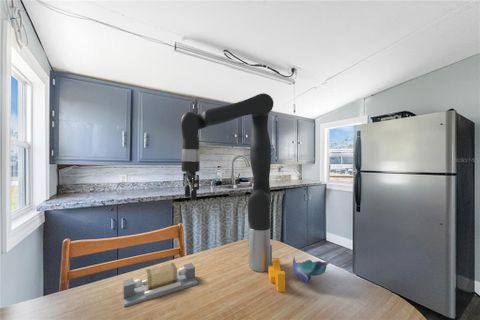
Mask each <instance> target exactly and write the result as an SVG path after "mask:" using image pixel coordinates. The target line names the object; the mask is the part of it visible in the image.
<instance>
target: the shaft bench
mask: <svg viewBox="0 0 480 320" xmlns="http://www.w3.org/2000/svg"><path fill="white" fill-rule="evenodd" d="M122 282H123V287H122V294H123V307H124V308H126V307H129V306H132V305H135V304H138V303H141V302H142V303H143V302H144V301H149V300H151V299H154V298H158V297H161V296H164V295H167V294H171V293H173V292H177V291H181V290H184V289H186V288H190V287H193V286H196V285H198V283H199V281H198V280H197V278H196V267H195V265H194V264H193V263H192V262H190V263H186V264H184V266H182V267H179V268H177V282H176V283H173V284H169V285H166V286H163V287H159V288H156V289H153V290H149V291H147V288H146V279H144V280H143V278H137V279H134V277H132V278H128V279H123V281H122Z"/></svg>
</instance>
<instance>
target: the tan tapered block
mask: <svg viewBox="0 0 480 320" xmlns="http://www.w3.org/2000/svg"><path fill="white" fill-rule="evenodd" d="M177 273H178V268H177V266H176V264H175V263H174V262H173V263H170V264H165V265H161V266H157V267H153V268H147V269H145V280H146V288H147V291H149V290H153V289H156V288H159V287H163V286H166V285H169V284H173V283H176V282H177Z"/></svg>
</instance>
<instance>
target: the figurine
mask: <svg viewBox="0 0 480 320" xmlns="http://www.w3.org/2000/svg"><path fill="white" fill-rule="evenodd" d="M295 256H296V255H294V256H293V259H292V268H293V272H294V275H295V276H296V277H297V278H299V279H301V280H304V282H305V283H306V284H308V283H309V282H310V281H311V277H317V276H320V275H321V276H322V275H323V274H325V273H326V269H327V267H328V265H329V264H330V263H331V262H332V260H330V261H320V260H317V261H312V260H311V259H307V260H305V261H302V262H301V261H298V262H296V257H295Z"/></svg>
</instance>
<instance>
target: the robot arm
mask: <svg viewBox="0 0 480 320" xmlns="http://www.w3.org/2000/svg"><path fill="white" fill-rule="evenodd" d="M273 108H274V99H273V97H272V96H271V95H269V94H267V93H264V92H263V93H258V94H256V95H254V96H252V97H249V98H246V99H244V100H241V101H237V102H235V103H231V104H226V105H221V106H216V107H212V108H208V109H205V110H204V111H203V112H200V113H195V112H192V111H187V112H185V113H184V114H182V117H181V121H180V126H181V135H182V140H181V141H182V143H181V144H182V145H181V146H182V147H181V172H183V174H182V177H183V178H182V187H183V188H184V198H190V201H196V200H197V198H198V197H197V196H198V194H197V193H198V191H200V175H199V174H196V173H199V172H200V170H201V169H200V167H201V165H200V164H201V160H200V159H201V157H200V155H201V154H200V138H199V130H201V129H206V128H208V127H210V126H215V125H216V126H217V125H220V124H224V123H227V122H230V121H232V120H236V119H239V118H241V117H245V116H249V115H250V120H251V133H250V149H249V151H250V154H249V155H250V156H249V161H250V167H251V171H252V177H253V181H252V182H253V183H252V193H251V194H250V195H249V197H248V200H247V218H248V219H247V221H248V224H249V225H248V234H249V235H248V267H249V269H250V270H252V271H255V272H259V273H261V272H268V266H273V244H271V217H270V216H271V215H270V209H271V208H270V206H271V203H272V195H271V188H270V187H271V186H270V174H271V165H272V161H271V160H272V143H271V138H270V134H269V130H268V127H269V126H268V123H269V114H270V113H271V111H272V110H273Z"/></svg>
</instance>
